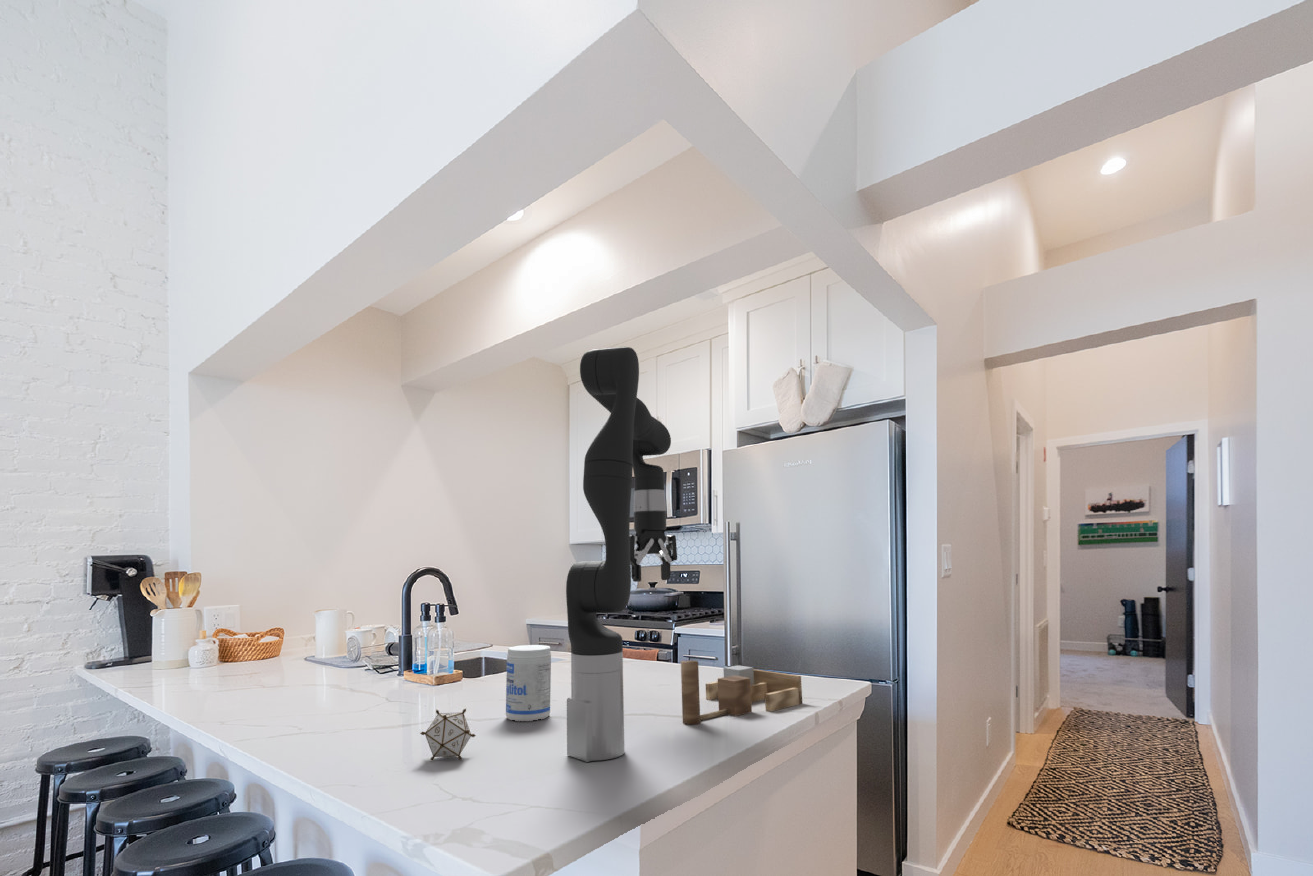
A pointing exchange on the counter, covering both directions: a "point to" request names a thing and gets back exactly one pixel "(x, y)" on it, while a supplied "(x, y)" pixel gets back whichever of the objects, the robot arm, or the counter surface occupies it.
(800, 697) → the lane shelf
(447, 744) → the game die
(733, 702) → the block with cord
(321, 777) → the counter surface
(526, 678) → the supplement tub
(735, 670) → the grey block
